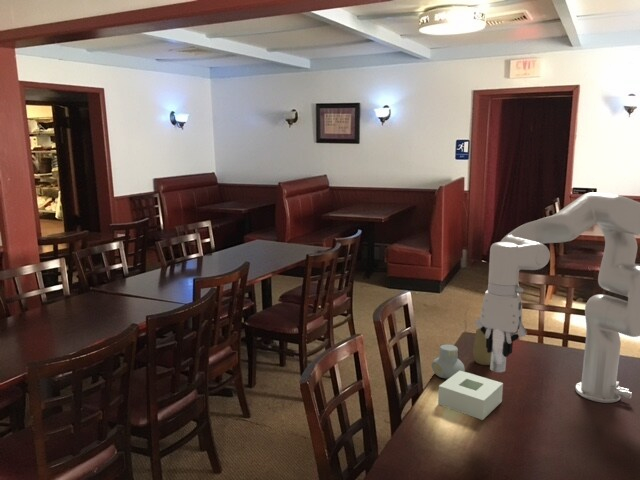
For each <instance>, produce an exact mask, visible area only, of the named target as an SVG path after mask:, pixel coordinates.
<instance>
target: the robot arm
mask: <svg viewBox="0 0 640 480" xmlns="http://www.w3.org/2000/svg"><path fill="white" fill-rule="evenodd" d="M595 225H597V226H598V227H599V229H600V230H601V232H602V234H603V237H604V243H605V244H604V250H603V254H602V258H601V263H600V268H599V273H598V277H597V279H598V280H597V282H598V286H599V287H600V288H601V289H603V290H605V291H608V292H610V293H613V294H618V295H619V296H625V297H627V300H624V299H621V298H618V297H615V296H611V295H608V294H600V293H599V294H595V295H592V296H591V297H589V298H588V300H587V302H586V303H585V307H584V316H585V323H586V330H585V331H586V332H585V334H586V335H585V344H584V354H583V361H582V362H583V363H582V364H583V365H582V372H581V373H582V374H581V381H580V382H578V383H576V384H575V388H574V389H575V392H576V394H578V395H580V396H581V397H583V398H584V399H587V400H590V401H593V402H598V403H605V404H612V403H613V404H614V403H616V402H618V401H620V400H621V398H622V397H624V398H626V399H630V400H631V399H632V394H633V393H632V392H631V391H630V389H629V388H626V387H621V386H620V385H619V384H620V381H617V380H618V371H619V370H618V369H619V362H620V353H621V344H622V343H621V342H622V341H621V337H620V336H621V335H620V334H622V335H624V336H628V337H633V338H638V337H640V265H639V264H638V265H637V264H636V258H637V252H638V242H637V239H636V237H635V235H636V236H640V202H639V201H637V200H634V199H632V198H629V197H626V196H623V195H619V194H612V193H605V192H587V193H586V192H585V193H584V194H582V195H581V196H579V197H577V198H576V199H575V200H573V201H572V202H571V203H569V204H567V205H566V206H565V207H563V208H562V209H560V210H559V211H557V212H556V213H554V214H553V215H549V216H546V217H545V216H544V217H542V218H539V219H537V220H533V221H529V222H525V223H524V224H522V225H520V226H518V227H516V228H514V229H512V230H511V231H510V232H509V233H507V234H506V235H504V237H503V238H502V239H501V240H500V241H498V242H494V243H492V244H491V245H490V247H489V248H490V249H489V261H488V262H489V263H488V279H487V280H488V285H487V290H486V291H485V293H484V296H483V300H482V305H481V310H480V311H481V312H480V316H479V317H478V318H477V320H476V321H475V323H474V325H475V327H477V329H478V328H479V329H481V331H482V332H483V334H484V335H485V338H486V348H487V352H488V353H490V352H491V345H492V329H499V330H501V331H504V332H506V339H507V340H506V343H505V346H504V356H505V357H506V358H508V357H509V356H510V355H511V354H512V353H513V348H514V347H513V346H514V345H513V344H514V342H515V341H516V340H518V339H521V338H522V337H526V335H527V334H528V331H527V330H526V328H525V326H524V324H523V303H522V302H523V301H522V295H521V294H523V292H524V287H521V286H520V284H519V278H520V277H519V276H520V275H519V274H520V271H521V270H525V271H527V270H529V271H536V270H537V271H538V270H541V269H543V268H544V267H545V266H546V265H548V263H549V261H550V258H551V252H550V250H549V248H548V246H547V245H545V244H556V243H557V244H558V243H567V242H571V241H573V240H575V239H577V238H578V237H579V236H580V235H582V234H583V233H584V232H586V231H588V230H589V229H590V228H592V227H593V226H595ZM519 293H521V294H519Z"/></svg>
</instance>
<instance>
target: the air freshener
mask: <svg viewBox="0 0 640 480" xmlns="http://www.w3.org/2000/svg"><path fill="white" fill-rule="evenodd" d="M458 351H459V349H458V347H457V346H456V345H453V344H442V345H440V346H439V356H438V357H436V358H434V359H433V361H432V362H431V369H432V371H433V373H434V374H435V376H438V377H439V378H441V379H445V380H448V379H449V378H450V377H452V376H453V375H454V374H456V373H457V372H458V371H464V372H466V371H465V364H464V363H463V361H461V360H460V359H459V358H458V356H459V355H458V353H459V352H458Z"/></svg>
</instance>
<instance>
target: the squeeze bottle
mask: <svg viewBox="0 0 640 480" xmlns="http://www.w3.org/2000/svg"><path fill="white" fill-rule="evenodd" d="M472 347H473V348H472V354H473V358H474V361H475V363H477V364H479V365H482V366H490V362H491V352H490V353H488V352H487V348H486V338H485V335H484V334H483V332H482V331H481V329H479V328H478V327H477V328H476V330H475V336H474V341H473V346H472Z"/></svg>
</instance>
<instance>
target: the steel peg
mask: <svg viewBox="0 0 640 480" xmlns="http://www.w3.org/2000/svg"><path fill="white" fill-rule="evenodd" d="M506 340H507V339H506V332H504V331H501V330H499V329H492V345H491V362H490V365H489V369H490V370H491V372H494V373H504V372H506V369H507V367H506V366H507V357H505V356H504V346H505V343H506Z"/></svg>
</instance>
